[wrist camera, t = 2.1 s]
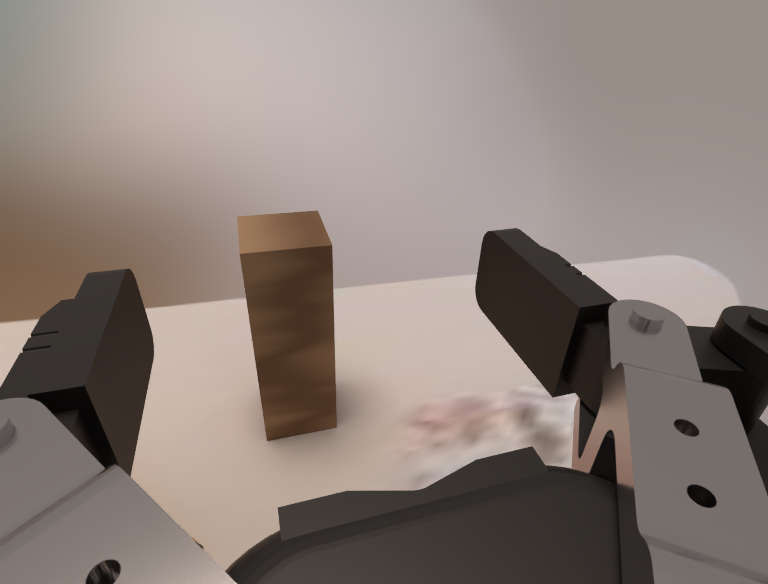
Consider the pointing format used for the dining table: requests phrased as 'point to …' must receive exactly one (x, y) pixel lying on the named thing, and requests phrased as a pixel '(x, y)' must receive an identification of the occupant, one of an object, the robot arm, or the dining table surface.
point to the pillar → (291, 319)
